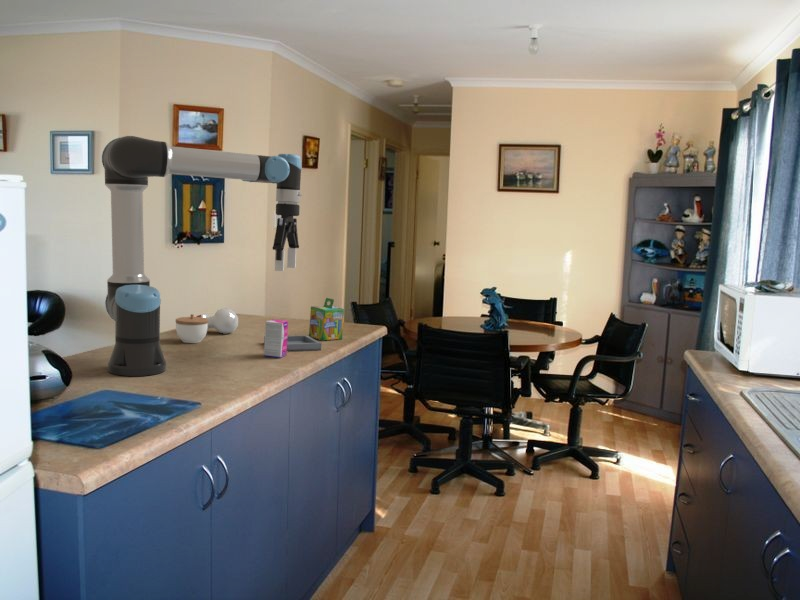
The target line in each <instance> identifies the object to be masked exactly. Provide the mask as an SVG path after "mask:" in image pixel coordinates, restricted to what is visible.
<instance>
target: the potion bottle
mask: <svg viewBox="0 0 800 600" xmlns="http://www.w3.org/2000/svg"><path fill="white" fill-rule="evenodd" d="M195 317H202V318H207V319H208V329H207V331H208V330H209V329H215V331H216V332H217V333H220V334H222V333H223V334H224V335H227V334H231V333H234V332H235V330H236V329H237V328H238V326H239V316H238V315H237V314H236V312H235V310H233V309H231V308H228V307H225V308H221V309H217V311H216V312H215V313H214V315H209V314H208V313H203V314H198V315H196V316H195ZM223 334H222V335H223Z"/></svg>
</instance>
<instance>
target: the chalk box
mask: <svg viewBox="0 0 800 600" xmlns="http://www.w3.org/2000/svg"><path fill="white" fill-rule="evenodd" d="M328 302H329V303H330V304H329V305H328ZM334 302H335V301H334V299H333V298H328V297H326V298H325V300H324V304H323V305H317V306H316V305H315V306H312V305H311V306H310V313H309V315H310V316H309V317H310V318H309V331H308V336H309V337H311V338H313V339H315V340H318V339H319V341H321V340H322V342H325V340H327V341H336V339H339V340H343V333H344V331H343V330H344V329H343V328H344V318H345V317H344V315H345V310H344V308H341V307H339V306H338V307H337V306H334V305H333V304H334Z"/></svg>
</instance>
